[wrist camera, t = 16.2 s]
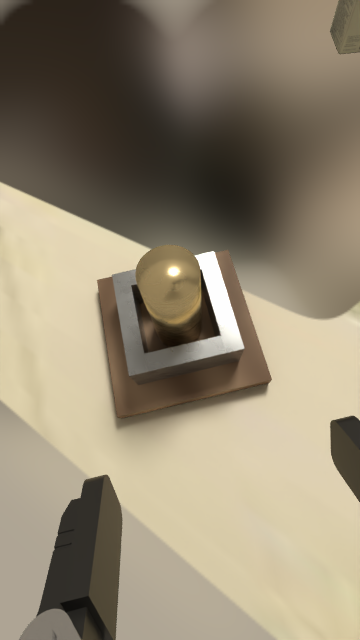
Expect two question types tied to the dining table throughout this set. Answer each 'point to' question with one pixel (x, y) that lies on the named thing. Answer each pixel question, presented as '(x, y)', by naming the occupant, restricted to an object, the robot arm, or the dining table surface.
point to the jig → (184, 360)
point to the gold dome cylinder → (172, 293)
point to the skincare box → (346, 26)
